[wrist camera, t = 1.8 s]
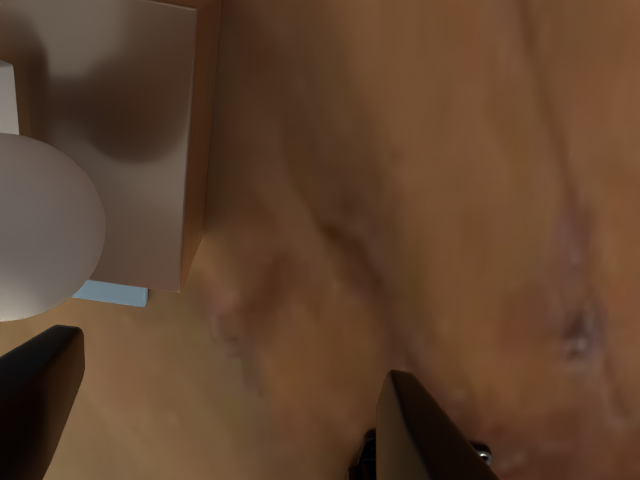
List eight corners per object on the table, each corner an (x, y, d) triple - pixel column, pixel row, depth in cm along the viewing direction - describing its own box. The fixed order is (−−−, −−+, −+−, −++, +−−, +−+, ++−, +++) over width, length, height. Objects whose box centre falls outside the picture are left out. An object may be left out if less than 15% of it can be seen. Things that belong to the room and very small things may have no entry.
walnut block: (223, -7, 17) (198, 7, 14) (202, 237, 22) (179, 294, 18) (30, -44, 17) (-46, -40, 13) (47, 213, 21) (-7, 267, 18)
